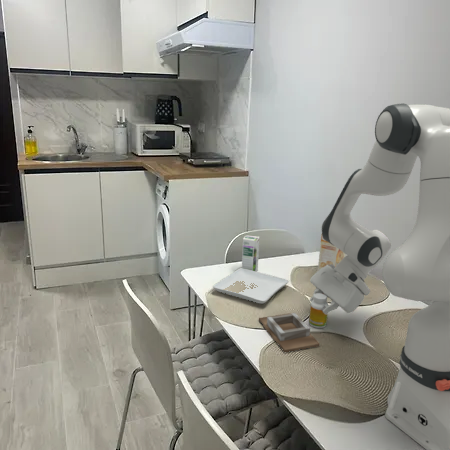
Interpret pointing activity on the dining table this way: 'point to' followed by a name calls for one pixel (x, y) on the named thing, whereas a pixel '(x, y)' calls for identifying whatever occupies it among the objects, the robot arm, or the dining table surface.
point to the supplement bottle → (318, 311)
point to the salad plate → (259, 294)
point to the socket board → (289, 332)
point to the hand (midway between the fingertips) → (317, 307)
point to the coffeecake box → (329, 254)
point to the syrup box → (250, 253)
